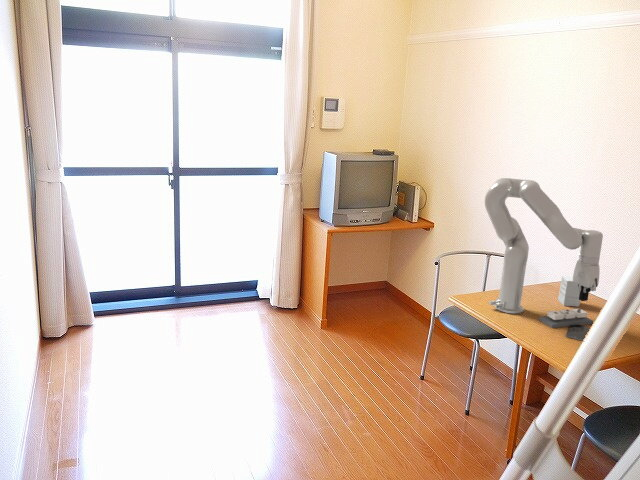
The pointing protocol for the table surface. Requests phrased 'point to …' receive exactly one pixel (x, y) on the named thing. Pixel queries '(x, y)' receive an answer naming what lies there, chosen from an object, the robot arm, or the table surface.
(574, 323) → the button board
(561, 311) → the tile two
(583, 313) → the tile three
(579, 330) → the smartphone
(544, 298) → the table surface
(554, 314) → the tile one
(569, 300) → the supplement box
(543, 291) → the table surface
